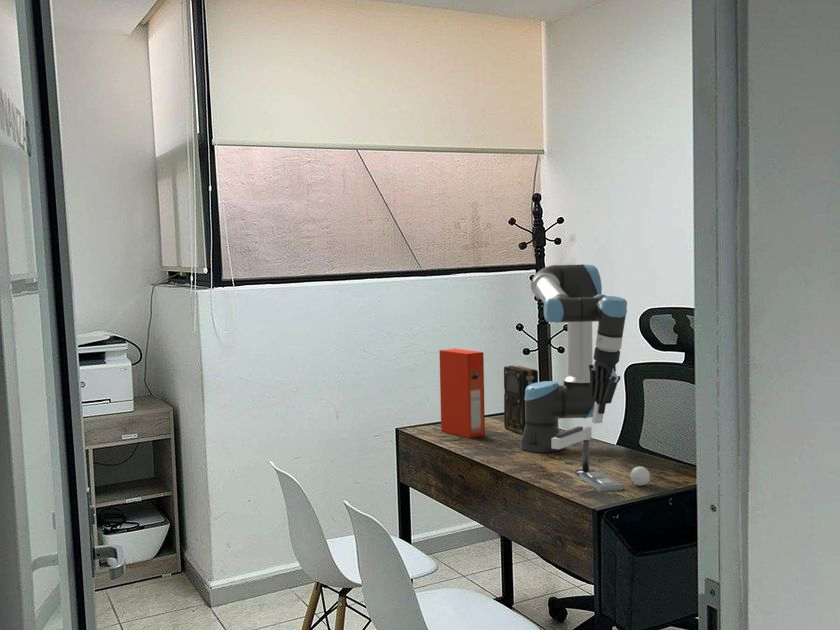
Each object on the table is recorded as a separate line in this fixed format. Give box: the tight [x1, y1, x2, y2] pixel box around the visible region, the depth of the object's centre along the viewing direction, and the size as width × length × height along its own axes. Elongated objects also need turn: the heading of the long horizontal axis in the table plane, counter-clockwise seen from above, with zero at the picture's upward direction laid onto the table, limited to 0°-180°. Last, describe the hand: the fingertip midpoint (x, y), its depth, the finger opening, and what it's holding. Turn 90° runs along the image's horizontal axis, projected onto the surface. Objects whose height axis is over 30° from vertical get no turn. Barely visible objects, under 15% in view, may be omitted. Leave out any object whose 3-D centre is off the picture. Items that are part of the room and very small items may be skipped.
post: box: [575, 440, 596, 477], centre depth 269 cm, size 6×6×11 cm
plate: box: [578, 470, 624, 492], centre depth 258 cm, size 16×7×2 cm, turn 11°
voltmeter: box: [503, 365, 539, 436], centre depth 335 cm, size 16×9×25 cm, turn 23°
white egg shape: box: [629, 466, 651, 487], centre depth 254 cm, size 8×6×6 cm
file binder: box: [439, 348, 486, 439], centre depth 332 cm, size 8×17×32 cm, turn 36°
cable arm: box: [551, 425, 592, 449], centre depth 262 cm, size 21×4×4 cm, turn 141°
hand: (597, 422), depth 264 cm, fingers closed
